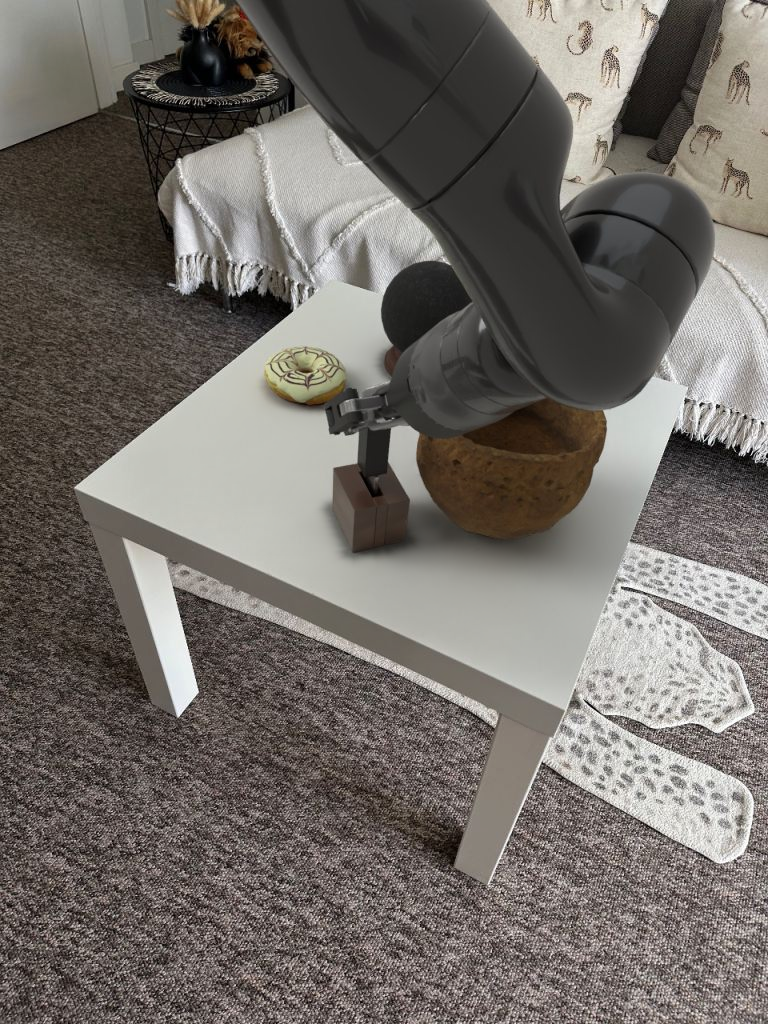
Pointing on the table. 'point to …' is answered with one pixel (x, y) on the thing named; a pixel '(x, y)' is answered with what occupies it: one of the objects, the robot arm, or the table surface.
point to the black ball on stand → (419, 304)
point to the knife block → (369, 508)
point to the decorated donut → (305, 375)
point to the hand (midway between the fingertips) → (390, 416)
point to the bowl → (514, 469)
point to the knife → (373, 455)
